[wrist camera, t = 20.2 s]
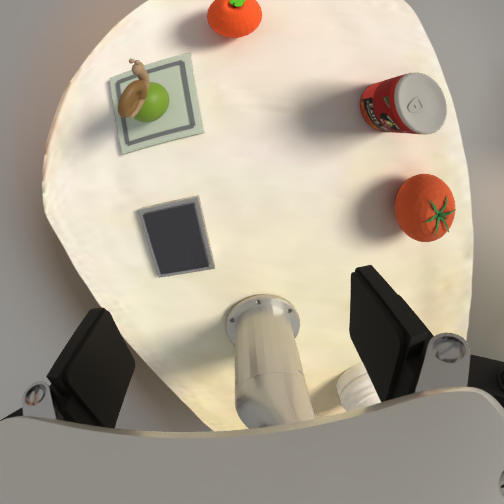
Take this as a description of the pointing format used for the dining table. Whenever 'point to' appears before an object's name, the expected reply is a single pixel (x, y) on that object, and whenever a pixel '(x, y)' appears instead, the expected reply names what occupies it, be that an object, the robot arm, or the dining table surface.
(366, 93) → the canned food
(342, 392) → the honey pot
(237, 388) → the robot arm
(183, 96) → the board
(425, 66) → the dining table surface
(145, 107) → the snail figurine
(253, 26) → the clementine
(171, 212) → the ink pad
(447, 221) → the tomato
